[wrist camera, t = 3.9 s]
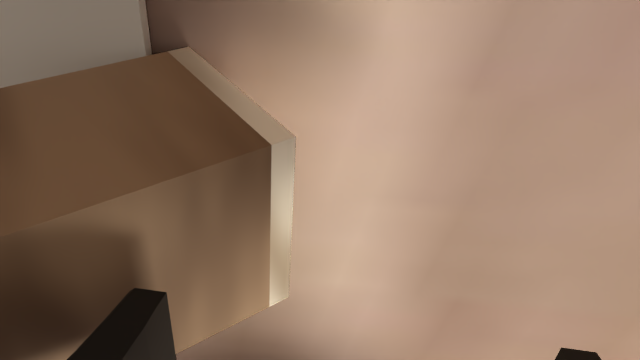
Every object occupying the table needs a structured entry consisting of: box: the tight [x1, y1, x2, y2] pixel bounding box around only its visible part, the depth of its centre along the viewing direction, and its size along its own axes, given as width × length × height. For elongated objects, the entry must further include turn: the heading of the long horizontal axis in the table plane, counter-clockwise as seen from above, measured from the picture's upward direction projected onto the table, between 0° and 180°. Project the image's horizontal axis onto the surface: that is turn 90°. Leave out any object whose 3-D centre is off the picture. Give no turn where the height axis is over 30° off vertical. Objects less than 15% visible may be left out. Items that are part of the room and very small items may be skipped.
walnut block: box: [0, 47, 296, 360], centre depth 13 cm, size 5×5×9 cm
